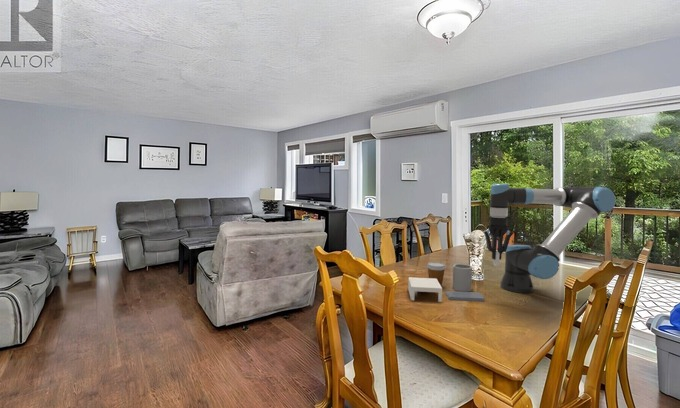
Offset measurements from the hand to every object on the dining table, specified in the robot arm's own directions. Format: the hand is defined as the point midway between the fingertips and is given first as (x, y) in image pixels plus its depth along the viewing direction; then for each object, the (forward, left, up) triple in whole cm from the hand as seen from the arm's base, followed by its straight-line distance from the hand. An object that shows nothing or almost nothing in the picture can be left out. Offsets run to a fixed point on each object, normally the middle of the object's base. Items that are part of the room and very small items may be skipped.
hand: (496, 266), depth 151 cm
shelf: (+33, 0, -16) cm, 37 cm away
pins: (+38, 0, -16) cm, 41 cm away
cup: (+12, -13, -16) cm, 24 cm away
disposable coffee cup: (+25, -15, -16) cm, 33 cm away
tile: (+14, 0, -17) cm, 22 cm away
